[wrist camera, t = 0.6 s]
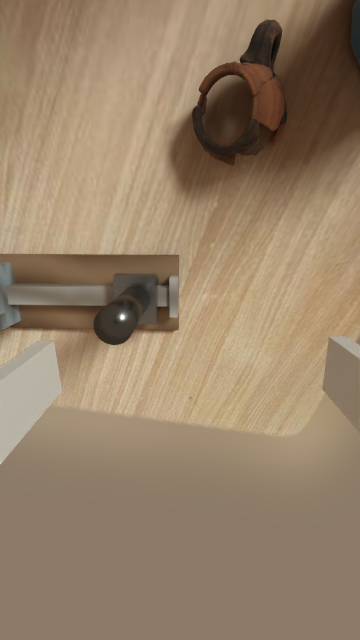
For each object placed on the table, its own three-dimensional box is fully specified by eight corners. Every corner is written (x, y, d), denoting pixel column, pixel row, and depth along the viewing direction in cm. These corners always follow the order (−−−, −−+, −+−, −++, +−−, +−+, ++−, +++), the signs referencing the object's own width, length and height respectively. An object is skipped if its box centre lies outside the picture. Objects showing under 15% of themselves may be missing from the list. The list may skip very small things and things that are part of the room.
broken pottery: (276, 173, 34) (253, 171, 28) (208, 157, 38) (175, 152, 32) (320, 40, 28) (304, -2, 22) (234, 35, 32) (199, -2, 25)
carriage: (120, 271, 37) (81, 291, 24) (158, 271, 36) (140, 292, 23) (122, 315, 38) (87, 357, 25) (159, 316, 38) (143, 359, 25)
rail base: (-15, 254, 38) (-59, 258, 31) (178, 255, 37) (175, 259, 30) (-1, 324, 41) (-39, 342, 34) (178, 327, 40) (176, 346, 33)
